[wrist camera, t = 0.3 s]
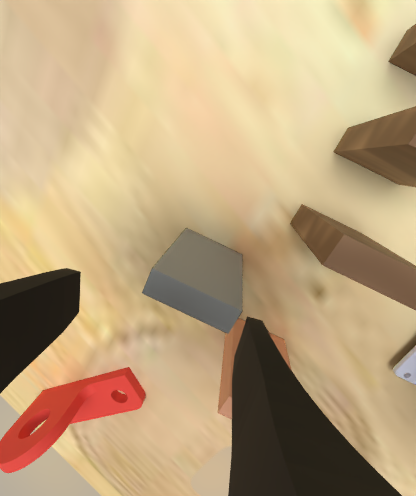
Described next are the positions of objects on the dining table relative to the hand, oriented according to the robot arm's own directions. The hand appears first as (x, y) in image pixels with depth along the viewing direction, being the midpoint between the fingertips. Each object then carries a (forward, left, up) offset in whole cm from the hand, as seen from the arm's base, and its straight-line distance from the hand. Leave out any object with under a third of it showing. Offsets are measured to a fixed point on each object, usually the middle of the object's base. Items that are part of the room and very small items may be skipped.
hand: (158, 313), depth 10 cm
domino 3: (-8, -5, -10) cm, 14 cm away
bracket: (+3, +22, -11) cm, 25 cm away
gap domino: (-1, 0, -10) cm, 10 cm away
